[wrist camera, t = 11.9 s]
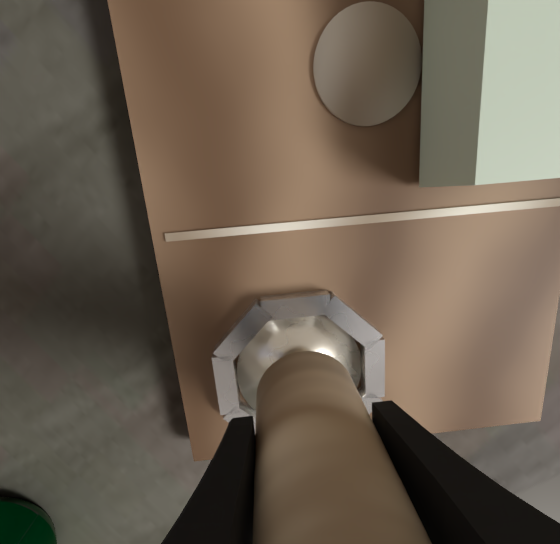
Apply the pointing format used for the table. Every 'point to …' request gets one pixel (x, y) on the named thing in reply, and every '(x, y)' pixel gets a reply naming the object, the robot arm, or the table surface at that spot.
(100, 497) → the table surface
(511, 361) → the board
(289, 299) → the socket ring
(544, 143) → the cover
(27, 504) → the soda can
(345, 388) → the peg
